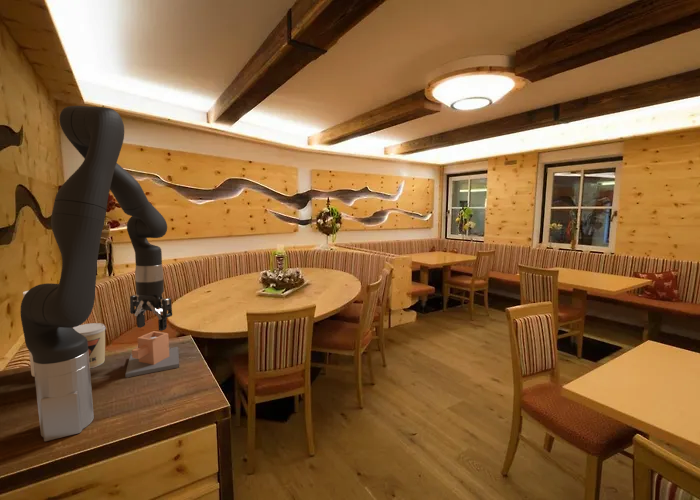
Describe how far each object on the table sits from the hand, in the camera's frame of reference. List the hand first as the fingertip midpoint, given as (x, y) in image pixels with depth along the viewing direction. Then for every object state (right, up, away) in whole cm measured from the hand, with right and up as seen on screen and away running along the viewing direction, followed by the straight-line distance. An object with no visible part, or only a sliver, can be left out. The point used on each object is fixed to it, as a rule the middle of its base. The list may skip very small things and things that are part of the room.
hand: (151, 328), depth 102 cm
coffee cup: (-20, -12, 0) cm, 23 cm away
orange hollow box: (-1, -11, 0) cm, 11 cm away
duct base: (0, -12, +2) cm, 12 cm away
